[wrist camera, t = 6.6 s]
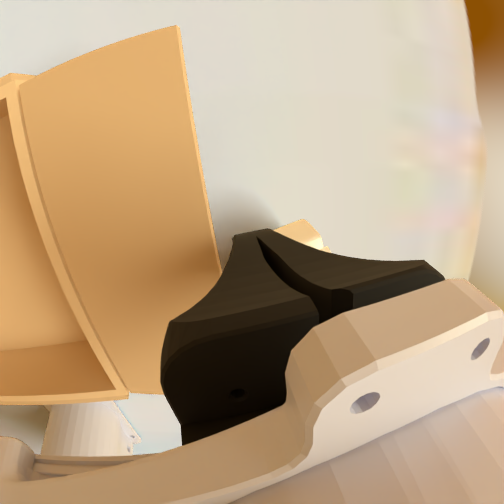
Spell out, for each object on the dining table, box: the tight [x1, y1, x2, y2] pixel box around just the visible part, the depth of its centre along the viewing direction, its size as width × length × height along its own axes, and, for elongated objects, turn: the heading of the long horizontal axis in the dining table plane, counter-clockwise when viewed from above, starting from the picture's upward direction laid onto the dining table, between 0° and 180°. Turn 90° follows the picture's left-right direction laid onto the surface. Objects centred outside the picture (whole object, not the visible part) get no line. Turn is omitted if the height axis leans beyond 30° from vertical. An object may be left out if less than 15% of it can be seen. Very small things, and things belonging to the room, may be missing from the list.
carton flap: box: [19, 25, 222, 394], centre depth 13 cm, size 17×7×1 cm, turn 7°
